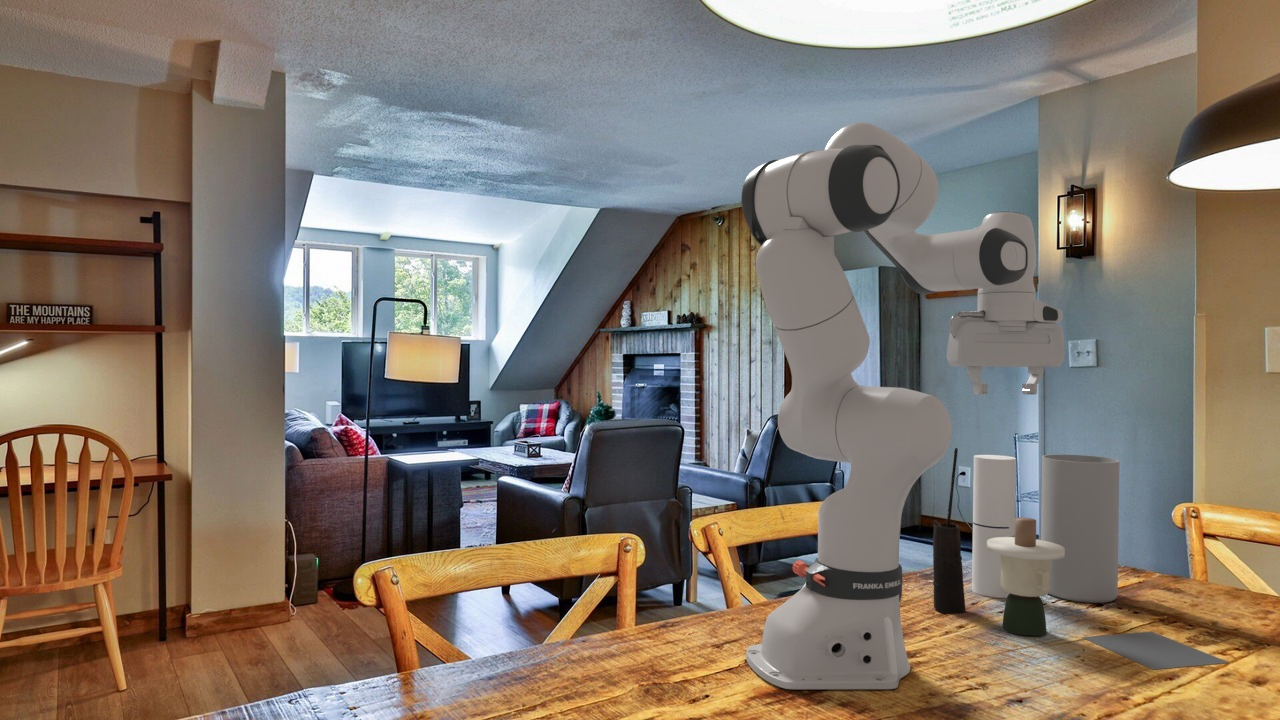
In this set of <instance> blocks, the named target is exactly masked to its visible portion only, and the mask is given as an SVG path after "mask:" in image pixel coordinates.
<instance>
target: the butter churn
mask: <svg viewBox="0 0 1280 720" xmlns="http://www.w3.org/2000/svg"><path fill="white" fill-rule="evenodd" d="M958 451H959V450H958V448H957V447H956V448H954V452H953V454H954V455H953V463H952V464H953V465H952V471H951V481H950V492H949V499H948V509H947V512H948V513H947V519H946V523H942V522H941V523H940V522H939V521H938V520H936V519H933V520H932V521H931V524H933V532H932V533H933V534H932V535H933V537H932V551H933V554H932V559H933V560H932V563H933V565H932V567H933V568H932V569H933V581H932V585H933V607H934V610H936V611H937V612H939V613H940V614H944V615H945V614H946V615H954V614H955V615H958V614H966V612H967V609H966V599H965V589H964V588H965V587H964V573H963V562H962V561H963V557H962V553H961V551H962V549H961V544H962V543H961V531H960V526H959V525H958V524H957V523H956V524H955V523H951V518H952V508H953V498H954V488H955V479H956V478H955V477H956V469H957V462H958V461H957V460H958Z"/></svg>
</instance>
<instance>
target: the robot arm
mask: <svg viewBox="0 0 1280 720" xmlns="http://www.w3.org/2000/svg"><path fill="white" fill-rule="evenodd" d="M741 190H742V191H741V209H742V214H743V217H744V219H745V222H746V225H747V227H748V228H749V230H750V233H751V236H752V237H753V239H754V240H755V241H756V243H757V244H759V245H760V246H759V249H758V251H757V254H756V257H755V266H756V267H755V268H756V273H757V278H758V283H759V286H760V287H759V288H760V291H761V294H762V298H763V300H764V304H765V307H766V309H767V313H768V315H769V318H770V320H771V323H772V325H773V327H774V329H775V332H776V336H778V338H779V342H780V344H781V347H782V349H783V352H784V355H785V357H786V359H787V363H788V365H789V369H790V374H791V389H790V391H789V393H788V394H787V395H786V396H785V398H783V400H782V402H781V404H780V406H779V411H778V414H777V428H778V431H779V435H780V438H781V439H782V442H783V443H784V444H785V445H786V447H787V448H789V449H790V450H793V451H795V452H796V453H797V452H798V453H800V454H802V455H804V456H805V455H806V456H807V457H811V458H813V459H817V460H823V461H831V462H839V463H848V464H850V472H849V477H848V479H847V482H846V484H845V486H844V487H843V488H842V489H839V490H837V491H835V492H833V493H831V494H830V495H828V496H827V497H826V498H825V499H824V500H823V501H822V502H821V504H820V506H819V509H818V514H817V518H818V519H817V520H818V523H817V524H818V525H817V557H816V559H815V560H814V562H813V563H812V564H810V565H809V564H808V563H805V562H804V561H802V560H799V559H798V560H796V561H794V563H793V564H792V567H791V568H792V571H793V572H794V574H796V575H798V577H801V578H805V585H804V586H803V587H802V588H801V589H800V590H799V591H797V592H795V594H793V595H792V596H791V597H790V598H788V599H787V600H785V602H783V603H782V604H781V605H780V606H778V607H776V608H775V609H774V610H772V611H771V612H770V613H769V614H768V616H767V618H766V620H765V623H764V628H763V633H762V639H761V643H759V644H757V643H756V644H752V645H749V646H748V647H747V650H746V654H745V655H746V656H745V660H746V663H747V664H748V666H749V667H750V669H752V671H753V672H755V673H756V675H757V676H759V677H760V678H761V679H763V680H764V681H767V682H768V683H770V684H771V685H774V686H776V687H778V688H782V689H785V690H893V689H894V690H895V689H897V688H898V686H899V683H900V682H899V681H900V680H901V679H902V678H904V677H905V676H907V675H908V674H909V673H910V671H911V666H910V665H911V664H910V662H909V659H908V654H907V650H906V646H905V641H904V634H903V627H902V619H901V606H900V603H901V601H902V596H903V595H902V594H903V566H902V565H901V564H900V542H901V541H900V537H901V525H902V516H903V515H902V513H903V510H904V506H905V503H906V501H907V497H908V495H909V493H910V492H911V489H912V487H913V485H914V484H915V483H916V482H917V481H918V479H919V478H920V477H921V475H923V474H924V473H925V472H926V471H928V469H930V468H932V467H933V466H935V465H937V463H938V462H939V461H940V460H942V458H943V457H944V455H945V454H946V452H948V449H949V446H950V444H951V441H952V434H953V433H952V428H953V427H952V420H951V417H950V414H949V411H948V410H947V408H946V407H945V405H944V404H943V402H942V401H941V400H940V399H939V398H938V397H936V396H934V395H931V394H929V393H925V392H921V391H918V390H913V389H910V388H905V387H895V386H894V387H892V386H870V385H869V386H867V385H865V386H864V385H860V384H858V382H856V381H855V379H854V378H853V375H852V373H853V372H854V371H856V370H857V369H858V368H859V367H860V366H861V365H862V364H863V362H864V361H865V360H866V358H867V356H868V353H869V349H870V334H869V332H868V329H867V327H866V325H865V321H864V319H863V316H862V314H861V311H860V308H859V305H858V303H857V300H856V298H855V295H854V293H853V290H852V288H851V285H850V283H849V281H848V278H847V276H846V274H845V272H844V269H843V268H842V266H841V264H840V261H839V260H838V257H836V254H835V243H834V242H835V236H838V235H843V234H846V233H851V232H853V233H861V232H864V233H865V235H866V236H867V238H869V239H870V240H871V242H872V243H873V244H874V245H875V246H876V247H877V248H878V250H880V251H881V252H882V254H883V255H884V256H885V257H886V258H887V259H889V262H891V263H892V264H893V265H894V266H895V267H896V269H897V270H898V271H899V273H900V275H901V277H902V279H903V280H904V282H905V284H906V285H907V286H908V287H909V288H910V289H911V290H912V291H913V292H914V293H916V294H919V295H929V294H930V295H931V294H936V293H942V292H954V291H969V290H970V291H971V290H977V308H976V309H977V310H971V311H970V310H969V311H967V310H959V311H957V312H956V313H954V314H953V315H952V316H951V318H950V320H949V335H948V342H947V349H946V361H947V362H948V364H949V366H951V367H961V368H962V367H966V375H967V376H968V378H969V379H970V381H971V383H972V393H973V395H977V396H982V395H983V396H984V395H988V387H989V386H988V383H984V382H983V380H982V377H981V375H980V374H983V367H986V368H987V367H989V368H990V367H994V368H995V367H997V368H1001V367H1002V368H1004V367H1006V368H1007V367H1010V368H1013V367H1015V368H1016V367H1017V368H1027V374H1030V375H1029V376H1028V379H1027V380H1026V383H1022V384H1021V385H1022V390H1021V391H1022V394H1023V395H1037V393H1038V384H1039V383H1040V381H1041V379H1042V377H1043V376H1044V371H1045V370H1044V368H1060V367H1061V365H1062V364H1063V363H1064V361H1065V352H1066V351H1065V350H1066V349H1065V334H1064V330H1063V328H1062V325H1060V324H1059V323H1062V321H1063V317H1064V312H1063V310H1062V309H1060V308H1057V307H1054V306H1052V305H1050V304H1048V303H1045V302H1043V301H1041V300H1038V299H1036V298H1037V296H1036V288H1035V284H1034V276H1035V275H1034V274H1035V271H1036V268H1037V253H1036V251H1037V250H1036V249H1037V246H1036V238H1035V237H1036V236H1035V230H1034V226H1033V223H1032V220H1031V218H1030V217H1029V216H1028V215H1025V214H1024V213H1021V212H1017V211H1015V212H1014V211H997V212H992V213H989V214H987V215H986V216H984V218H983V219H982V222H981V225H978V226H976V227H974V228H971V229H966V230H957V231H951V232H943V233H933V234H931V233H930V234H929V233H928V234H921V233H917V232H916V231H915V230H917V229H918V228H919V227H920V226H922V225H923V224H924V223H925V222H926V221H927V220H928V219H929V217H930V215H931V214H932V213H933V210H934V209H935V206H936V203H937V200H938V197H939V180H938V178H937V175H936V173H935V171H934V170H933V168H932V167H931V165H930V164H929V163H928V162H927V161H926V160H925V159H924V158H923V157H921V155H919V154H918V153H917V152H916V151H915V150H913V148H911V147H910V146H908V145H907V144H906V143H905V142H903V141H902V140H901V139H899V138H897V137H896V136H895V135H893V134H891V133H890V132H888V131H886V130H884V129H882V128H880V127H878V126H876V125H875V124H871V123H868V122H860V121H859V122H854V123H850V124H848V125H846V126H843V127H841V128H840V129H839V130H837V132H835V133H834V134H833V136H831V138H830V139H829V140H828V141H827V144H826V145H825V148H824V150H823V149H821V150H817V151H816V150H808V151H803V152H801V153H800V152H799V153H797V154H793V155H789V156H786V157H783V158H781V159H772V160H769V161H767V162H765V163H763V164H760V165H759V166H757V167H756V168H754V169H753V170H751V172H749V173H748V175H746V178H745V180H744V182H743V185H742V189H741Z"/></svg>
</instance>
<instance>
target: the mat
mask: <svg viewBox="0 0 1280 720" xmlns="http://www.w3.org/2000/svg"><path fill="white" fill-rule="evenodd" d="M1080 638H1081V639H1084V640H1085V641H1087V642H1088V641H1089V642H1090V643H1093V644H1094V645H1096V646H1099V647H1101V648H1103V649H1105V650H1107V651H1110V652H1113V653H1114V654H1117V655H1119V656H1121V657H1123V658H1125V659H1127V660H1130V661H1133V662H1135V663H1136V664H1138V665H1141V666H1143V667H1145V668H1148V669H1150V670H1152V671H1156V670H1171V669H1179V668H1189V667H1202V666H1212V665H1213V666H1214V665H1223V664H1230V662H1229V661H1227V660H1224V659H1222V658H1219V657H1217V656H1215V655H1212V654H1209V653H1207V652H1205V651H1202V650H1199V649H1198V648H1194V647H1191V646H1189V645H1187V644H1184V643H1182V642H1180V641H1177V640H1174V639H1172V638H1169V637H1167V636H1164V635H1162V634H1159V633H1157V632H1155V631H1141V632H1131V633H1117V634H1105V635H1093V636H1090V635H1089V636H1081V637H1080Z"/></svg>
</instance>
